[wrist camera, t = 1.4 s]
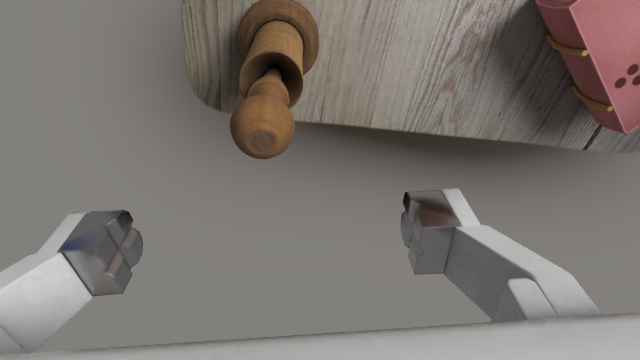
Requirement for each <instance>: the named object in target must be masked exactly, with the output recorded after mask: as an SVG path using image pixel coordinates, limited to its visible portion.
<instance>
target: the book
mask: <svg viewBox="0 0 640 360" xmlns="http://www.w3.org/2000/svg"><path fill="white" fill-rule="evenodd" d="M534 2H535V4H536V6H537V8H538V10H539V12H540V14H541V16H542V18H543V20H544V22H545V24H546V26H547V28H548V30H549V32H550V34H547V36H546V39H547V41H548V42H549V43H550V45H551V46H552V48H553V49H556V50H558V51H559V52H560V54H561V56H562V58H563V60H564V62H565V64H566V66H567V68H568V70H569V72H570V74H571V76H572V78H573V80H574V82H575V85H573V86H572V87H571V88H572V90H573V91H574V93H575V94H576V96H577V97H578V99H579V100H581V101H583V102H584V103H585V104H586V106H587V108H588V110H589V112H590V113H591V115H592V116H593V118H594V119H595V121H597V122H598V123H600V124H601V125H603V126H604V127H606V128H607V129H610V130H613V131H617V132H620V133H623V134H627V133H629V132H631V131H632V130H634V129H636V128H638V127H639V126H640V0H534Z"/></svg>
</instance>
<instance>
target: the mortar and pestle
mask: <svg viewBox="0 0 640 360" xmlns="http://www.w3.org/2000/svg"><path fill="white" fill-rule="evenodd" d="M238 47H239V51H240V54H241V57H242V59H243V61H244V64H243V66H242V68H241V71H240V74H239V88H240V91H241V94H242V96H243V98H244V100H243V101H241V102H240V103H239V104H238V105H237V107H236V108H235V110H234V112H233V114H232V117H231V121H230V129H231V135H232V137H233V140H234V142H235V144H236V145H237V146H238V148H239V149H240V150H241V151H243V152H244V153H245V154H247V155H249V156H250V157H253V158H258V159H268V158H272V157H275V156H277V155H279V154H281V153H282V152H283V151H285V149H286V148H287V147H288V146H289V145H290V143H291V141H292V139H293V136H294V130H295V129H294V128H295V125H294V119H293V116H292V114H291V112H290V110H289V109H290V108H291V107H293V106H294V105H295V104H296V103H297V101H298V100H299V98H300V96H301V94H302V90H303V75H305V74H306V73H307V72H308V71H309V70H310V69H311V67H312V66H313V64H314V62H315V60H316V58H317V55H318V51H319V34H318V29H317V25H316V23H315V20H314V18H313V17H312V15H311V14H310V13H309V11H308V10H307V9H306V8H305V7H304V6H302V5H301V4H300V3H298V2H296V1H294V0H260V1H258V2H257V3H255V4H254V5H253V6H252V7H251V8H250V9H249V10H248V11H247V13H246V14H245V16H244V18H243V20H242V22H241V24H240V27H239V31H238Z"/></svg>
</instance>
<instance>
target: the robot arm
mask: <svg viewBox="0 0 640 360" xmlns="http://www.w3.org/2000/svg"><path fill="white" fill-rule="evenodd" d="M403 204H404V207H405V212H403V213H402V216H401V232H402V237H403V240H404V244H405V245H406V246H407V247H408V248H409V256H408V257H409V259H410V263H411V265H412V269H413V271H414V274H437V273H438V274H440V273H444V275H445V276H446V277H447V278H448V279H449V280H450V281H451V282H452V283H454V284H455V285H456V286H457V287H458V288H459V289H460V290H461V291H462V292H463V293H464V294H465V295H466V296H468V297H469V298H470V299H471V300H472V301H473V302H474V303H475V304H476V305H477V306H478V307H479V308H480V309H482V310H483V311H484V312H485V313H486V314H487V315H488V316H489V317H490V318H491V319H492V320H491V322H489V323H474V324H459V325H444V326H429V327H414V328H399V329H384V330H368V331H355V332H354V331H353V332H339V333H323V334H308V335H293V336H278V337H263V338H248V339H233V340H217V341H202V342H187V343H172V344H156V345H141V346H126V347H111V348H96V349H82V350H66V351H52V352H37V353H34V352H35V351H36V350H37V349H38V348H39V347H40V346H41V345H42V344H43V343H44V342H46V341H47V340H48V339H49V338H50V337H51V336H52V335H53V334H54V333H55V332H56V331H57V330H58V329H60V328H61V327H62V326H63V325H64V324H65V323H66V322H67V321H68V320H70V319H71V318H72V317H73V316H74V315H75V314H76V313H77V312H78V311H79V310H80V309H81V308H82V307H84V306H85V305H86V304H87V303H88V302H89V301H90V300H91V299H92V298H93V297H92V296H101V295H112V294H123V292H124V290H125V288H126V286H127V284H128V282H129V280H130V278H131V276H132V272H131V270H130V268H132V267H133V266H134V265H135V264H137V263H138V262H139V260H140V257H141V255H142V249H143V242H142V237H141V235H140V233H139V231H138V230H136V229H135V228H133V227H132V226H131V225H132V222H133V219H132V217H131V215H130V213H129V212H128V211H125V210H116V211H91V212H76V213H72V214H69V215H67V217H66V218H65V219H64V220H63V221H62V223H61V224H60V225H59V226H58V228H57V229H56V230H55V231H54V233H53V234H52V235H51V236H50V238H48V240H47V241H46V242H45V243H44V245H43V246H42V247H41V248H40V250H39V251H38V252H37V253H36V254H30V255H28V256H27V257H25V258H23V259H22V260H20V261H18V262H17V263H15V264H13V265H11V266H10V267H8V268H6V269H5V270H3V271H2V272H0V360H640V313H627V314H612V315H602V314H601V312H600V311H599V310H598V308H597V307H596V306H595V305H594V303H593V302H592V301H591V299H590V298H589V297H588V295H587V294H586V293H585V291H584V290H583V289H582V288H581V286H580V285H579V284H578V282H577V281H576V280H575V279H574V277H573V276H572V275H571V274H570V273H569V272H567V271H565V270H563V269H562V268H560V267H558V266H556V265H555V264H553V263H551V262H549V261H548V260H546V259H544V258H543V257H541V256H539V255H537V254H536V253H534V252H532V251H531V250H529V249H527V248H525V247H523V246H522V245H520V244H518V243H517V242H515V241H513V240H511V239H510V238H508V237H506V236H505V235H503V234H501V233H499V232H498V231H496V230H494V229H492V228H491V227H489V226H487V225H481V224H480V223H479V221H478V219H477V218H476V216H475V214H474V213H473V211H472V210H471V208H470V206H469V205H468V203H467V201H466V200H465V198H464V196H463V195H462V193H461V192H460V190H459V189H457V188H450V189H440V190H430V191H415V192H405V195H404V199H403Z"/></svg>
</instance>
